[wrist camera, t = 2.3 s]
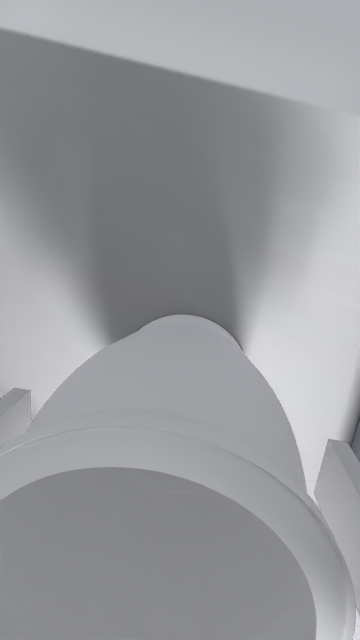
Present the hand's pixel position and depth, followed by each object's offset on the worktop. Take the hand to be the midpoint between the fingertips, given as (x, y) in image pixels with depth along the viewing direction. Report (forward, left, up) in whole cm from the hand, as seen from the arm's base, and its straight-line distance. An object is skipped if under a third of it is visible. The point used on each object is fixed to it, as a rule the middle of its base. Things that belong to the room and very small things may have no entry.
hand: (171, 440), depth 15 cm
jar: (0, 0, -8) cm, 8 cm away
